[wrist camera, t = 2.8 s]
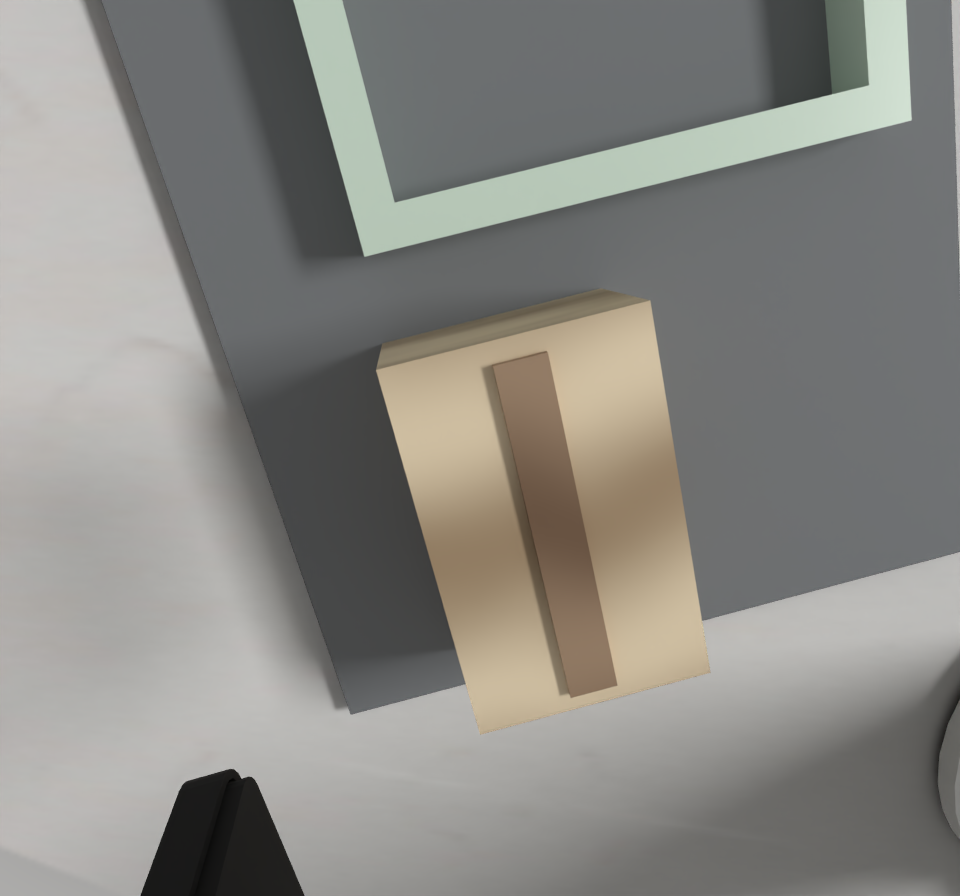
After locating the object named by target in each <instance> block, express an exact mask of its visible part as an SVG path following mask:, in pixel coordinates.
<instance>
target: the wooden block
mask: <svg viewBox="0 0 960 896" xmlns="http://www.w3.org/2000/svg"><path fill="white" fill-rule="evenodd" d="M376 372H377V375H378V379H379V382H380V386H381V389H382V393H383V396H384V400H385V403H386V407H387V410H388V414H389V417H390V421H391V424H392V428H393V431H394V435H395V438H396V442H397V445H398V449H399V452H400V456H401V459H402V463H403V466H404V470H405V473H406V477H407V480H408V484H409V487H410V491H411V494H412V498H413V501H414V505H415V508H416V512H417V515H418V519H419V522H420V526H421V529H422V533H423V536H424V540H425V543H426V547H427V550H428V554H429V557H430V561H431V564H432V568H433V571H434V575H435V578H436V582H437V585H438V589H439V592H440V596H441V599H442V603H443V606H444V610H445V613H446V617H447V620H448V624H449V627H450V631H451V634H452V638H453V641H454V645H455V648H456V652H457V655H458V659H459V662H460V666H461V669H462V673H463V676H464V680H465V683H466V687H467V690H468V694H469V697H470V701H471V704H472V708H473V711H474V715H475V718H476V721H477V725H478V728H479V732H480V735H481V734H484V733H488V732H492V731H495V730H499V729H503V728H507V727H510V726H514V725H518V724H521V723H525V722H529V721H533V720H536V719H540V718H544V717H547V716H551V715H555V714H559V713H562V712H566V711H570V710H573V709H577V708H581V707H585V706H588V705H592V704H596V703H599V702H603V701H607V700H611V699H614V698H618V697H622V696H625V695H629V694H633V693H637V692H640V691H644V690H648V689H651V688H655V687H659V686H663V685H666V684H670V683H674V682H677V681H681V680H685V679H688V678H692V677H696V676H700V675H703V674H707V673H710V667H709V661H708V655H707V649H706V642H705V636H704V630H703V624H702V618H701V611H700V605H699V599H698V593H697V587H696V580H695V574H694V568H693V562H692V556H691V549H690V543H689V537H688V531H687V525H686V518H685V512H684V506H683V500H682V494H681V487H680V481H679V475H678V469H677V463H676V457H675V450H674V444H673V438H672V432H671V426H670V419H669V413H668V407H667V401H666V395H665V388H664V382H663V376H662V370H661V364H660V357H659V351H658V345H657V339H656V333H655V326H654V320H653V314H652V308H651V302H650V300H646V299H642V298H638V297H634V296H630V295H626V294H622V293H618V292H614V291H610V290H606V289H602V288H600V289H596V290H592V291H588V292H584V293H580V294H576V295H572V296H568V297H564V298H560V299H556V300H552V301H549V302H545V303H541V304H537V305H533V306H529V307H525V308H521V309H517V310H513V311H509V312H505V313H501V314H497V315H493V316H489V317H485V318H481V319H477V320H473V321H469V322H465V323H462V324H458V325H454V326H450V327H446V328H442V329H438V330H434V331H430V332H426V333H422V334H418V335H414V336H410V337H406V338H402V339H398V340H394V341H390V342H386V343H382V347H381V351H380V355H379V360H378V364H377V368H376Z"/></svg>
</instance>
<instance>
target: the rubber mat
mask: <svg viewBox="0 0 960 896" xmlns="http://www.w3.org/2000/svg"><path fill="white" fill-rule="evenodd" d="M101 1H102V4H103V7H104V9H105V12H106V15H107V18H108V21H109V24H110V27H111V29H112V32H113V35H114V38H115V41H116V44H117V47H118V49H119V52H120V55H121V58H122V61H123V64H124V67H125V70H126V72H127V75H128V78H129V81H130V84H131V87H132V90H133V92H134V95H135V98H136V101H137V104H138V107H139V110H140V112H141V115H142V118H143V121H144V124H145V127H146V130H147V133H148V135H149V138H150V141H151V144H152V147H153V150H154V153H155V155H156V158H157V161H158V164H159V167H160V170H161V173H162V175H163V178H164V181H165V184H166V187H167V190H168V193H169V195H170V198H171V201H172V204H173V207H174V210H175V213H176V216H177V218H178V221H179V224H180V227H181V230H182V233H183V236H184V238H185V241H186V244H187V247H188V250H189V253H190V256H191V258H192V261H193V264H194V267H195V270H196V273H197V276H198V279H199V281H200V284H201V287H202V290H203V293H204V296H205V299H206V301H207V304H208V307H209V310H210V313H211V316H212V319H213V321H214V324H215V327H216V330H217V333H218V336H219V339H220V341H221V344H222V347H223V350H224V353H225V356H226V359H227V362H228V364H229V367H230V370H231V373H232V376H233V379H234V382H235V384H236V387H237V390H238V393H239V396H240V399H241V402H242V404H243V407H244V410H245V413H246V416H247V419H248V422H249V424H250V427H251V430H252V433H253V436H254V439H255V442H256V445H257V447H258V450H259V453H260V456H261V459H262V462H263V465H264V467H265V470H266V473H267V476H268V479H269V482H270V485H271V487H272V490H273V493H274V496H275V499H276V502H277V505H278V508H279V510H280V513H281V516H282V519H283V522H284V525H285V528H286V530H287V533H288V536H289V539H290V542H291V545H292V548H293V550H294V553H295V556H296V559H297V562H298V565H299V568H300V570H301V573H302V576H303V579H304V582H305V585H306V588H307V591H308V593H309V596H310V599H311V602H312V605H313V608H314V611H315V613H316V616H317V619H318V622H319V625H320V628H321V631H322V633H323V636H324V639H325V642H326V645H327V648H328V651H329V654H330V656H331V659H332V662H333V665H334V668H335V671H336V674H337V676H338V679H339V682H340V685H341V688H342V691H343V694H344V696H345V699H346V702H347V705H348V708H349V711H350V714H355V713H359V712H362V711H366V710H370V709H374V708H377V707H381V706H385V705H389V704H392V703H396V702H400V701H404V700H407V699H411V698H415V697H419V696H422V695H426V694H430V693H434V692H437V691H441V690H445V689H449V688H452V687H456V686H460V685H463V684H466V683H465V680H464V676H463V673H462V669H461V666H460V662H459V659H458V655H457V652H456V648H455V645H454V641H453V638H452V634H451V631H450V627H449V624H448V620H447V617H446V613H445V610H444V606H443V603H442V599H441V596H440V592H439V589H438V585H437V582H436V578H435V575H434V571H433V568H432V564H431V561H430V557H429V554H428V550H427V547H426V543H425V540H424V536H423V533H422V529H421V526H420V522H419V519H418V515H417V512H416V508H415V505H414V501H413V498H412V494H411V491H410V487H409V484H408V480H407V477H406V473H405V470H404V466H403V463H402V459H401V456H400V452H399V449H398V445H397V442H396V438H395V435H394V431H393V428H392V424H391V421H390V417H389V414H388V410H387V407H386V403H385V400H384V396H383V393H382V389H381V386H380V382H379V379H378V375H377V372H376V368H377V364H378V360H379V355H380V351H381V347H382V343H386V342H390V341H394V340H398V339H402V338H406V337H410V336H414V335H418V334H422V333H426V332H430V331H434V330H438V329H442V328H446V327H450V326H454V325H458V324H462V323H465V322H469V321H473V320H477V319H481V318H485V317H489V316H493V315H497V314H501V313H505V312H509V311H513V310H517V309H521V308H525V307H529V306H533V305H537V304H541V303H545V302H549V301H552V300H556V299H560V298H564V297H568V296H572V295H576V294H580V293H584V292H588V291H592V290H596V289H600V288H602V289H606V290H610V291H614V292H618V293H622V294H626V295H630V296H634V297H638V298H642V299H646V300H650V302H651V308H652V314H653V320H654V326H655V333H656V339H657V345H658V351H659V357H660V364H661V370H662V376H663V382H664V388H665V395H666V401H667V407H668V413H669V419H670V426H671V432H672V438H673V444H674V450H675V457H676V463H677V469H678V475H679V481H680V487H681V494H682V500H683V506H684V512H685V518H686V525H687V531H688V537H689V543H690V549H691V556H692V562H693V568H694V574H695V580H696V587H697V593H698V599H699V605H700V611H701V618H702V621H703V620H707V619H710V618H714V617H718V616H722V615H725V614H729V613H733V612H737V611H740V610H744V609H748V608H752V607H755V606H759V605H763V604H767V603H770V602H774V601H778V600H782V599H785V598H789V597H793V596H797V595H800V594H804V593H808V592H812V591H815V590H819V589H823V588H826V587H830V586H834V585H838V584H841V583H845V582H849V581H853V580H856V579H860V578H864V577H868V576H871V575H875V574H879V573H883V572H886V571H890V570H894V569H898V568H901V567H905V566H909V565H913V564H916V563H920V562H924V561H928V560H931V559H935V558H939V557H942V556H946V555H950V554H954V553H957V552H960V274H959V241H958V208H957V175H956V142H955V109H954V76H953V43H952V10H951V0H906V12H907V33H908V54H909V75H910V96H911V117H912V120H911V121H907V122H903V123H899V124H895V125H891V126H887V127H883V128H879V129H875V130H871V131H867V132H863V133H859V134H855V135H851V136H847V137H843V138H839V139H835V140H831V141H827V142H823V143H819V144H815V145H811V146H807V147H803V148H799V149H795V150H791V151H787V152H783V153H779V154H775V155H771V156H767V157H763V158H759V159H755V160H751V161H747V162H743V163H739V164H735V165H731V166H727V167H723V168H719V169H715V170H711V171H707V172H703V173H699V174H695V175H691V176H687V177H683V178H679V179H675V180H671V181H667V182H663V183H659V184H655V185H651V186H647V187H642V188H638V189H634V190H630V191H626V192H622V193H618V194H614V195H610V196H606V197H602V198H598V199H594V200H590V201H586V202H582V203H578V204H574V205H570V206H566V207H562V208H558V209H554V210H550V211H546V212H542V213H538V214H534V215H530V216H526V217H522V218H518V219H514V220H510V221H506V222H502V223H498V224H494V225H490V226H486V227H482V228H478V229H474V230H470V231H466V232H462V233H458V234H454V235H450V236H446V237H442V238H438V239H434V240H430V241H426V242H422V243H418V244H414V245H410V246H406V247H402V248H398V249H394V250H390V251H386V252H382V253H378V254H374V255H370V256H366V257H364V253H363V250H362V246H361V243H360V239H359V235H358V232H357V228H356V225H355V221H354V217H353V214H352V210H351V206H350V203H349V199H348V196H347V192H346V188H345V185H344V181H343V178H342V174H341V170H340V167H339V163H338V160H337V156H336V152H335V149H334V145H333V142H332V138H331V134H330V131H329V127H328V124H327V120H326V116H325V113H324V109H323V105H322V102H321V98H320V95H319V91H318V87H317V84H316V80H315V77H314V73H313V69H312V66H311V62H310V59H309V55H308V51H307V48H306V44H305V41H304V37H303V33H302V30H301V26H300V23H299V19H298V15H297V12H296V8H295V4H294V1H293V0H101ZM342 1H343V5H344V9H345V13H346V17H347V21H348V24H349V28H350V32H351V36H352V40H353V44H354V48H355V51H356V55H357V59H358V63H359V67H360V71H361V75H362V78H363V82H364V86H365V90H366V94H367V98H368V102H369V106H370V109H371V113H372V117H373V121H374V125H375V129H376V133H377V136H378V140H379V144H380V148H381V152H382V156H383V160H384V163H385V167H386V171H387V175H388V179H389V183H390V187H391V190H392V194H393V198H394V202H399V201H403V200H407V199H412V198H416V197H420V196H424V195H428V194H432V193H436V192H440V191H444V190H448V189H452V188H456V187H460V186H464V185H468V184H472V183H476V182H480V181H484V180H488V179H492V178H496V177H500V176H504V175H508V174H513V173H517V172H521V171H525V170H529V169H533V168H537V167H541V166H545V165H549V164H553V163H557V162H561V161H565V160H569V159H573V158H577V157H581V156H585V155H589V154H593V153H597V152H601V151H605V150H610V149H614V148H618V147H622V146H626V145H630V144H634V143H638V142H642V141H646V140H650V139H654V138H658V137H662V136H666V135H670V134H674V133H678V132H682V131H686V130H690V129H694V128H698V127H702V126H707V125H711V124H715V123H719V122H723V121H727V120H731V119H735V118H739V117H743V116H747V115H751V114H755V113H759V112H763V111H767V110H771V109H775V108H779V107H783V106H787V105H791V104H795V103H799V102H804V101H808V100H812V99H816V98H820V97H824V96H828V95H832V85H831V72H830V59H829V47H828V34H827V21H826V8H825V0H342Z"/></svg>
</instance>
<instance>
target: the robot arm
mask: <svg viewBox="0 0 960 896" xmlns="http://www.w3.org/2000/svg"><path fill="white" fill-rule="evenodd" d="M938 788H939V794H940V799H941V805H942V809H943V811H944V814H945V816H946V818H947V820H948V822H949V825H950V827H951V829H952V831H953V832H954V833H955V834H956V836H957V837H958V838H959V839H960V700H959V702H958V704H957V706H956V708H955V710H954V712H953V715H952V717H951V719H950V721H949V723H948V726H947V729H946V733H945V737H944V740H943V744H942V747H941V751H940V755H939V770H938ZM141 896H304V893H303V891H302V889H301V886H300V884H299V882H298V879H297V877H296V875H295V872H294V870H293V867H292V865H291V863H290V860H289V858H288V856H287V853H286V851H285V849H284V846H283V844H282V841H281V839H280V837H279V834H278V832H277V830H276V827H275V825H274V823H273V820H272V818H271V816H270V813H269V811H268V808H267V806H266V804H265V801H264V799H263V797H262V794H261V792H260V790H259V787H258V785H257V783H256V781H255V780H254V779H253V778H252V777H246V778H243V779H241V777H240V775H239V774H238V773H237V772H236V771H235V770H234V769H229V770H225V771H222V772H218V773H214V774H211V775H207V776H204V777H200V778H197V779H193V780H190V781H187V782H185V783H184V784H183V785H182V787H181V789H180V791H179V793H178V796H177V798H176V801H175V804H174V806H173V809H172V812H171V815H170V817H169V820H168V823H167V825H166V828H165V831H164V833H163V836H162V839H161V842H160V844H159V847H158V850H157V852H156V855H155V858H154V860H153V863H152V866H151V869H150V871H149V874H148V877H147V879H146V882H145V885H144V887H143V890H142V893H141Z"/></svg>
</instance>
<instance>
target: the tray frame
mask: <svg viewBox="0 0 960 896" xmlns="http://www.w3.org/2000/svg"><path fill="white" fill-rule="evenodd" d="M293 1H294V4H295V8H296V12H297V15H298V19H299V23H300V26H301V30H302V33H303V37H304V41H305V44H306V48H307V51H308V55H309V59H310V62H311V66H312V69H313V73H314V77H315V80H316V84H317V87H318V91H319V95H320V98H321V102H322V105H323V109H324V113H325V116H326V120H327V124H328V127H329V131H330V134H331V138H332V142H333V145H334V149H335V152H336V156H337V160H338V163H339V167H340V170H341V174H342V178H343V181H344V185H345V188H346V192H347V196H348V199H349V203H350V206H351V210H352V214H353V217H354V221H355V225H356V228H357V232H358V235H359V239H360V243H361V246H362V250H363V253H364V257H366V256H370V255H374V254H378V253H382V252H386V251H390V250H394V249H398V248H402V247H406V246H410V245H414V244H418V243H422V242H426V241H430V240H434V239H438V238H442V237H446V236H450V235H454V234H458V233H462V232H466V231H470V230H474V229H478V228H482V227H486V226H490V225H494V224H498V223H502V222H506V221H510V220H514V219H518V218H522V217H526V216H530V215H534V214H538V213H542V212H546V211H550V210H554V209H558V208H562V207H566V206H570V205H574V204H578V203H582V202H586V201H590V200H594V199H598V198H602V197H606V196H610V195H614V194H618V193H622V192H626V191H630V190H634V189H638V188H642V187H647V186H651V185H655V184H659V183H663V182H667V181H671V180H675V179H679V178H683V177H687V176H691V175H695V174H699V173H703V172H707V171H711V170H715V169H719V168H723V167H727V166H731V165H735V164H739V163H743V162H747V161H751V160H755V159H759V158H763V157H767V156H771V155H775V154H779V153H783V152H787V151H791V150H795V149H799V148H803V147H807V146H811V145H815V144H819V143H823V142H827V141H831V140H835V139H839V138H843V137H847V136H851V135H855V134H859V133H863V132H867V131H871V130H875V129H879V128H883V127H887V126H891V125H895V124H899V123H903V122H907V121H911V120H912V117H911V96H910V75H909V54H908V33H907V12H906V0H825V8H826V21H827V34H828V47H829V59H830V72H831V85H832V95H828V96H824V97H820V98H816V99H812V100H808V101H804V102H799V103H795V104H791V105H787V106H783V107H779V108H775V109H771V110H767V111H763V112H759V113H755V114H751V115H747V116H743V117H739V118H735V119H731V120H727V121H723V122H719V123H715V124H711V125H707V126H702V127H698V128H694V129H690V130H686V131H682V132H678V133H674V134H670V135H666V136H662V137H658V138H654V139H650V140H646V141H642V142H638V143H634V144H630V145H626V146H622V147H618V148H614V149H610V150H605V151H601V152H597V153H593V154H589V155H585V156H581V157H577V158H573V159H569V160H565V161H561V162H557V163H553V164H549V165H545V166H541V167H537V168H533V169H529V170H525V171H521V172H517V173H513V174H508V175H504V176H500V177H496V178H492V179H488V180H484V181H480V182H476V183H472V184H468V185H464V186H460V187H456V188H452V189H448V190H444V191H440V192H436V193H432V194H428V195H424V196H420V197H416V198H412V199H407V200H403V201H399V202H394V198H393V194H392V190H391V187H390V183H389V179H388V175H387V171H386V167H385V163H384V160H383V156H382V152H381V148H380V144H379V140H378V136H377V133H376V129H375V125H374V121H373V117H372V113H371V109H370V106H369V102H368V98H367V94H366V90H365V86H364V82H363V78H362V75H361V71H360V67H359V63H358V59H357V55H356V51H355V48H354V44H353V40H352V36H351V32H350V28H349V24H348V21H347V17H346V13H345V9H344V5H343V1H342V0H293Z"/></svg>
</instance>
